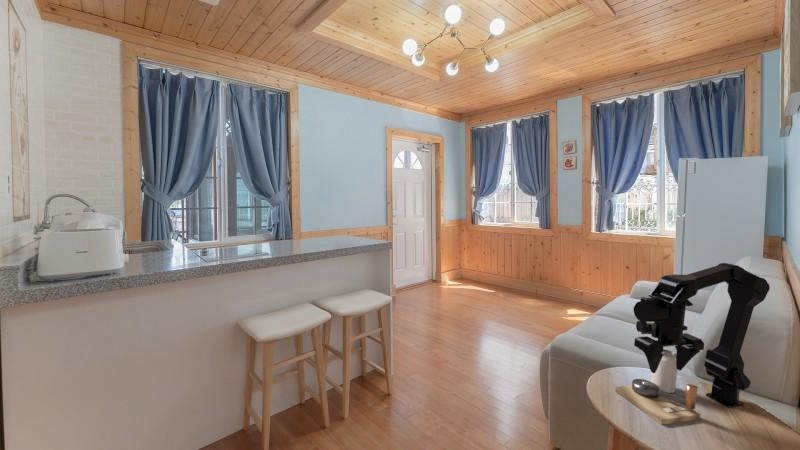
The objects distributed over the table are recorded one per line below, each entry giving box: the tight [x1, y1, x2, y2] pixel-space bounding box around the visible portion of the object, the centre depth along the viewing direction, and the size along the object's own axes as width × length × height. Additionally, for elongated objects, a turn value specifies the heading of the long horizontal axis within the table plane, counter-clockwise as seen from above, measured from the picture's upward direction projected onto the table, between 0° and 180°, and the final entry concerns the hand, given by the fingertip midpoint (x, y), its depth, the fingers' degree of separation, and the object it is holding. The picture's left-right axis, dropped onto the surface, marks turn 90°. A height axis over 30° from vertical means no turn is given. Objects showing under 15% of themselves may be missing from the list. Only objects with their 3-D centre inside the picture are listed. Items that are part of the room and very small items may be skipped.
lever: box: [631, 378, 698, 410], centre depth 106 cm, size 16×7×7 cm, turn 37°
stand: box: [614, 384, 701, 425], centre depth 106 cm, size 13×16×2 cm
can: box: [650, 348, 679, 394], centre depth 114 cm, size 6×6×12 cm
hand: (665, 371), depth 104 cm, fingers open, 9 cm apart
